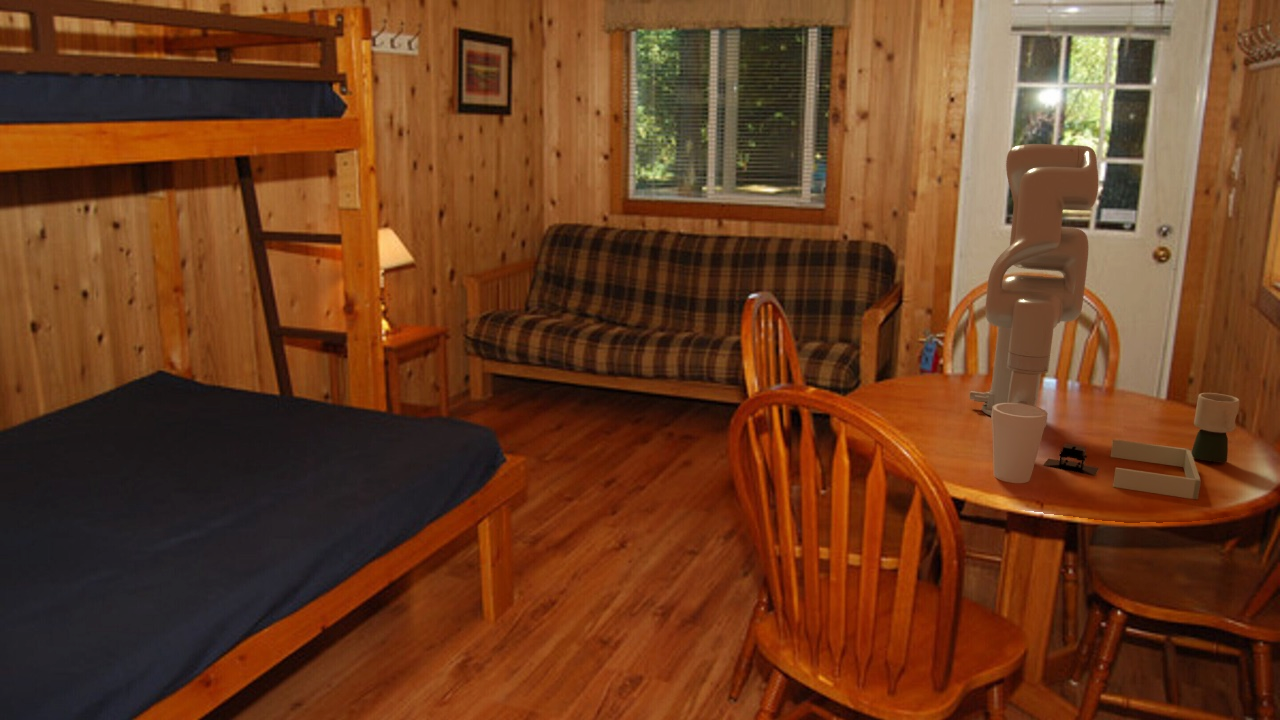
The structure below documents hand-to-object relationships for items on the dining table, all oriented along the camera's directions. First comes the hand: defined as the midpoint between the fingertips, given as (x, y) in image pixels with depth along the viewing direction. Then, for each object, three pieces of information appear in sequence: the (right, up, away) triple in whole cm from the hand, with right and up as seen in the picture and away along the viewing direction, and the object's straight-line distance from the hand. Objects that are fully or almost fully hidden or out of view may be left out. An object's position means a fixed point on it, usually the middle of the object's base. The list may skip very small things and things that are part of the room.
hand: (1017, 452), depth 196 cm
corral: (+22, -4, -9) cm, 24 cm away
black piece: (+9, -3, -4) cm, 10 cm away
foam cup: (-5, -4, -11) cm, 13 cm away
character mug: (+38, -2, +1) cm, 38 cm away
